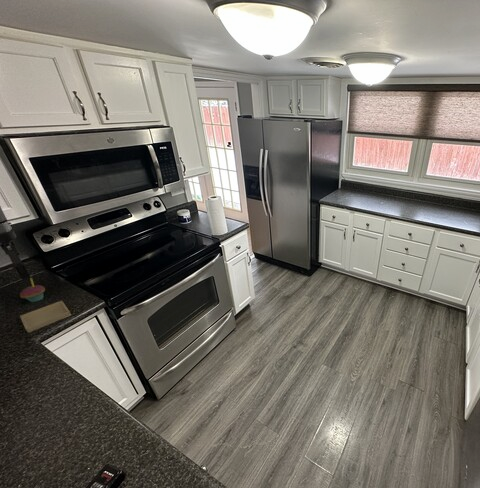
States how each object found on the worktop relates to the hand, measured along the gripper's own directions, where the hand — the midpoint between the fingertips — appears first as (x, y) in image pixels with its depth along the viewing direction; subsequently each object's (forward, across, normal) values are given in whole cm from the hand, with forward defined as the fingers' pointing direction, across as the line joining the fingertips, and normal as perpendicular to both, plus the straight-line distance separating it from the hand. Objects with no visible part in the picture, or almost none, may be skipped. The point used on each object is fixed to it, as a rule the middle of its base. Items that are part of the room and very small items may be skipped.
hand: (23, 273), depth 124 cm
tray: (+15, -21, 0) cm, 26 cm away
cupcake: (+15, 0, 0) cm, 15 cm away
